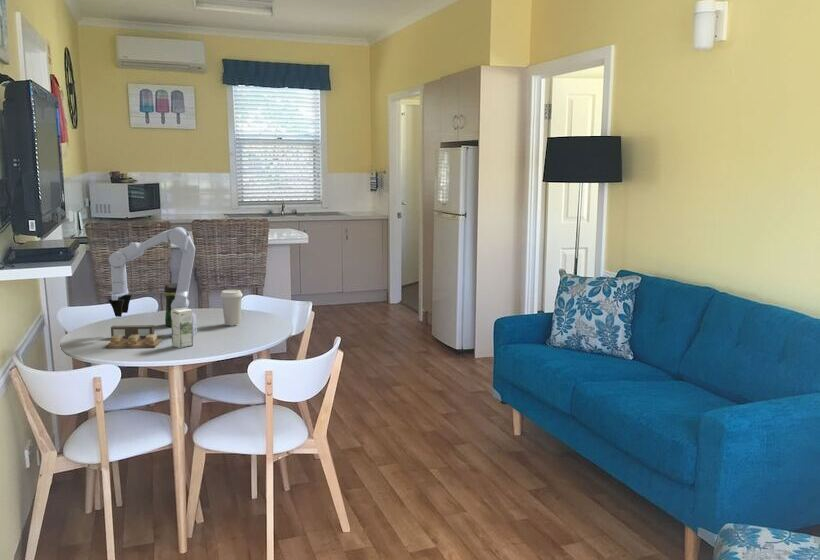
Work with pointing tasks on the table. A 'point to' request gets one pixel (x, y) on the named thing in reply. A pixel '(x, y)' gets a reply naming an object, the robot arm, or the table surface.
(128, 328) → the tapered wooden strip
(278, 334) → the table surface
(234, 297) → the coffee cup
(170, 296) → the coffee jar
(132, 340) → the display stand
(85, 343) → the table surface
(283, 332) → the table surface
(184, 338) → the syrup box
